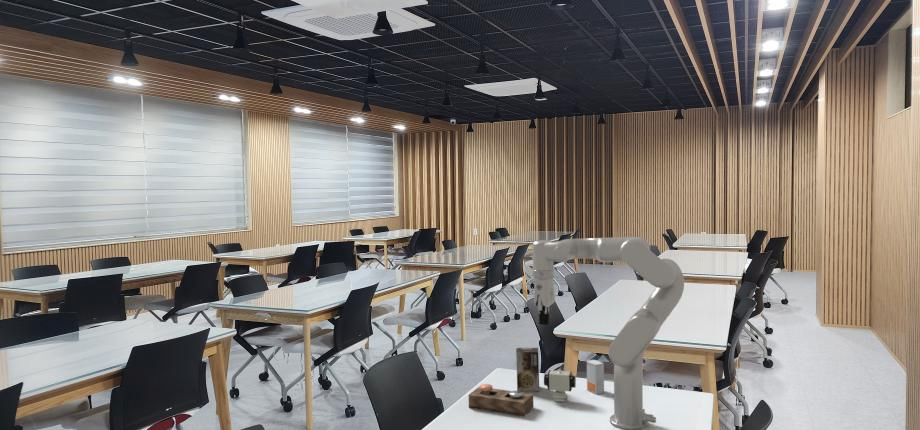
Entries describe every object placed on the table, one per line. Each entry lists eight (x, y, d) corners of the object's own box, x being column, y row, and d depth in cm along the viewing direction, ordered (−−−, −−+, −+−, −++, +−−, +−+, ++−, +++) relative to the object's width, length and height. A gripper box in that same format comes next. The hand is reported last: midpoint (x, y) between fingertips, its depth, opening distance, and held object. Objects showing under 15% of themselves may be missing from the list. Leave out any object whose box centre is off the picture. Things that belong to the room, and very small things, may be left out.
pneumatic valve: (575, 404, 228) (574, 372, 227) (544, 401, 231) (543, 370, 231) (576, 399, 233) (576, 368, 233) (546, 396, 236) (545, 366, 236)
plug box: (533, 407, 225) (533, 394, 225) (524, 416, 216) (523, 403, 216) (479, 399, 235) (479, 386, 235) (468, 407, 226) (468, 394, 226)
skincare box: (586, 390, 243) (586, 360, 242) (595, 388, 245) (594, 359, 244) (595, 394, 237) (595, 364, 237) (604, 392, 239) (604, 363, 239)
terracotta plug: (494, 398, 229) (494, 385, 229) (489, 402, 225) (489, 388, 225) (483, 397, 232) (482, 383, 231) (477, 401, 227) (477, 387, 227)
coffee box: (539, 386, 249) (538, 347, 248) (539, 391, 243) (538, 351, 242) (516, 385, 250) (516, 347, 249) (516, 391, 244) (516, 351, 243)
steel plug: (524, 405, 224) (524, 391, 224) (519, 410, 220) (519, 395, 220) (512, 403, 226) (512, 390, 226) (507, 408, 222) (507, 394, 222)
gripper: (546, 277, 212) (547, 329, 212) (559, 272, 225) (560, 320, 226) (526, 276, 215) (527, 327, 216) (540, 271, 228) (540, 319, 229)
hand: (544, 324), depth 221 cm, fingers closed
